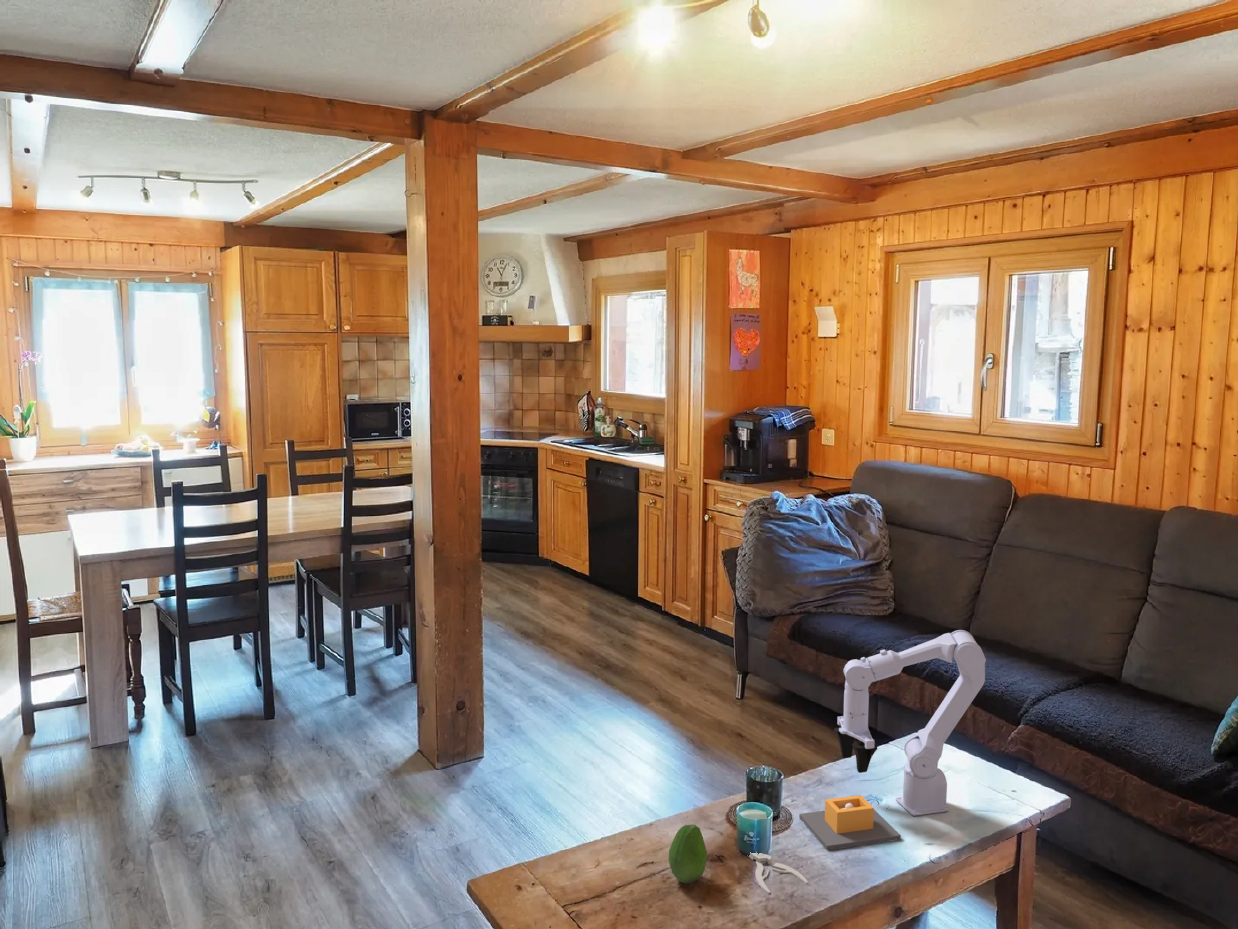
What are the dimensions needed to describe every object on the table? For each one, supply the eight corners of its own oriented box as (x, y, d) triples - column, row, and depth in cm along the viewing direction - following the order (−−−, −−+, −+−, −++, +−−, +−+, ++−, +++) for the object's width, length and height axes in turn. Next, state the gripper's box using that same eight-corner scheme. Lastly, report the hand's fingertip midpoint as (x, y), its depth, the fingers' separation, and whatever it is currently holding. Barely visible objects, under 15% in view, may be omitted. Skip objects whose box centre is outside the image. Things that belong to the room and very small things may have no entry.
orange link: (860, 815, 207) (861, 795, 206) (873, 828, 201) (873, 808, 201) (824, 820, 205) (825, 799, 204) (836, 833, 199) (837, 812, 199)
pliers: (767, 888, 179) (731, 850, 193) (767, 896, 179) (731, 857, 193) (809, 878, 182) (770, 841, 196) (809, 885, 182) (770, 847, 196)
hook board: (869, 808, 212) (869, 784, 211) (900, 839, 199) (901, 814, 198) (799, 818, 208) (799, 793, 207) (826, 850, 194) (827, 824, 194)
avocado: (714, 880, 184) (715, 826, 182) (688, 896, 178) (688, 840, 177) (686, 864, 189) (687, 811, 188) (660, 878, 184) (660, 824, 183)
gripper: (826, 700, 219) (825, 753, 220) (855, 724, 205) (853, 780, 206) (852, 698, 220) (851, 750, 222) (883, 721, 206) (881, 777, 208)
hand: (854, 764), depth 214 cm, fingers open, 7 cm apart
